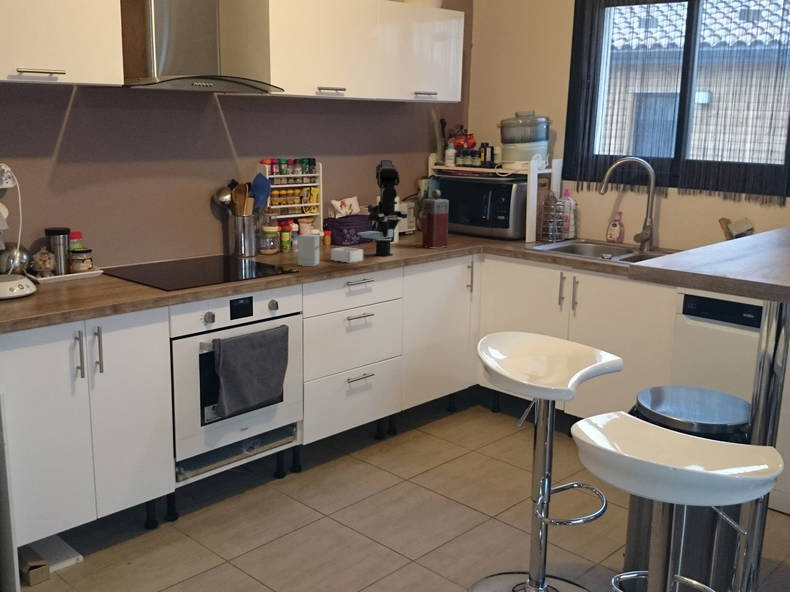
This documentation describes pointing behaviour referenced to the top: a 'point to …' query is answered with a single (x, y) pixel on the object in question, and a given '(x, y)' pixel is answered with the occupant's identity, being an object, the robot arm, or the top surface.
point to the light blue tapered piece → (376, 234)
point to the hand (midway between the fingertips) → (387, 236)
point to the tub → (347, 254)
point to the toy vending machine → (435, 221)
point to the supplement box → (308, 249)
